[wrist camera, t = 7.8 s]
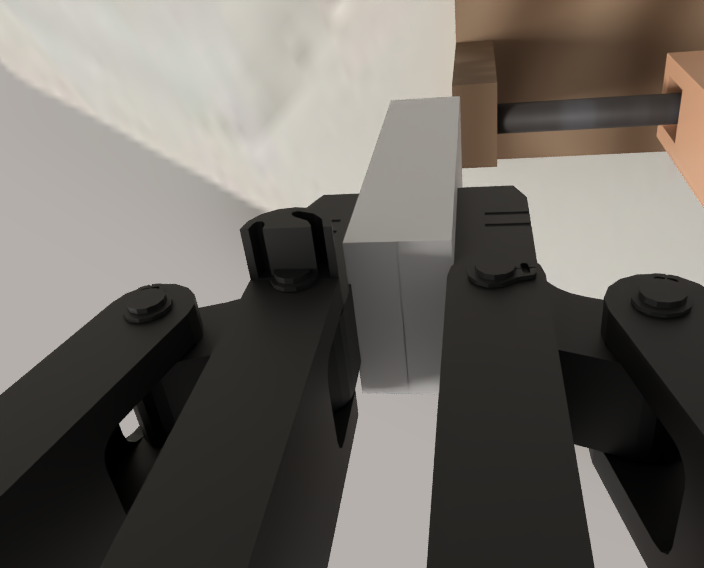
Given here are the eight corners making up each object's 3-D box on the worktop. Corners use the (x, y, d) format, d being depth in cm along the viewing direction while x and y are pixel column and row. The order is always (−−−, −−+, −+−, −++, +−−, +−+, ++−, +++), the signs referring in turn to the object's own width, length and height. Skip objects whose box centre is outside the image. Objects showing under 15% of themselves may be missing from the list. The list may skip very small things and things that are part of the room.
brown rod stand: (906, -63, 33) (1061, -35, 24) (850, 132, 38) (962, 214, 30) (455, -20, 37) (449, 18, 29) (459, 151, 42) (456, 228, 34)
